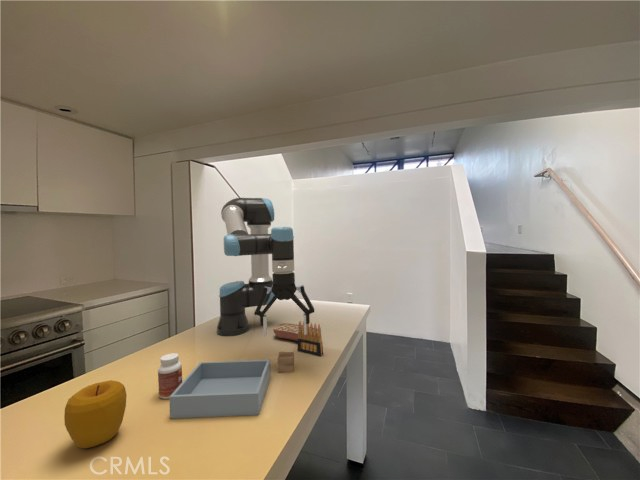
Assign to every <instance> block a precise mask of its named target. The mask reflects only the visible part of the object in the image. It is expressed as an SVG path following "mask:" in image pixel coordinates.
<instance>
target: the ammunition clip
mask: <svg viewBox="0 0 640 480" xmlns="http://www.w3.org/2000/svg"><path fill="white" fill-rule="evenodd" d="M298 325H299V330H298V341H297V352H299V353H303V354H304V353H305V354H308V355H312V356H316V357H322V356H323V355H324V347H323V341H322V339H323V337H322V329H321V325H320V323H319V324H318V325H317V324H316V323H314V325H313V323H312V322H310V323H309V324H306V326H307V334H306V335H304V320H303V321H301V320H299V321H298ZM309 327H310V331H309ZM313 328H314V333H313ZM317 329H318V334H317Z"/></svg>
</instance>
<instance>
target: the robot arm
mask: <svg viewBox="0 0 640 480" xmlns="http://www.w3.org/2000/svg"><path fill="white" fill-rule="evenodd" d="M220 214H221V215H220V216H221V219H222V221H223V222H224V223H225V229H226V235H224V237H223V251H224V252H223V253H224V255H225V256H227V257H230V256H231V257H239V256H241V257H242V256H250V261H251V262H250V264H251V276H250V277H249V279H248V283H245V281H243V280H236V281H232V282H228V283H225V284H224V283H223V285H221V286H220V287H219V295H218V297H219V313H220V314H219V315H220V316H219V320H218V323H217V326H216V334H217V335H219V336H224V337H228V336H229V337H230V336H238V335H242V334H244V333H246V332H248V331H249V330H250V322H249V320H248V316H247V314H246V308H254V307H256V308H255V311H254V313H253V315H255V316H258V317H259V321H260V327H262V328H263V337H267V335H268V315H267V314H266V313H268V311H269V309H270V308H271V307H272V306H273V304H274V303H275V302H276V300H279V301H283V300H285V301H289V300H292V301H293V302H294V303H295V304H296V305H297V306H298V307H299V309H300V310H301V311H302V312H303V321H304V335H306V334H307V326H306V324H309V325H310V324H311V318H310V315H311V314H314V313H315V308H314V306H313V304H312V302H311V300H310V298H309V296H308V295H307V293H306V291H305V286H304V284H301V285H297V286H296V275H295V272H294V271H295V251H294V249H295V248H294V244H295V243H294V240H295V239H294V238H295V236H294V231H293V230H294V229H293V227H291V226H276V227H272V228H271V230H270V233H269V228H270V227H271V226H272V223H273V222H274V221H275V209H274V205H273V202H272V201H271V199H269V198H263V197H236V198H233V199H231V200H229V201H227V202H226V203H225V204H224V205H223V207H222V209H221V213H220ZM246 225H247V227H248V228H249V229H250V233H249V232H248V230H247V227H246ZM269 255H271V270H272V272H273V273H272V277H271V276H270V272H269V271H270V269H269V268H270V266H269V265H270V263H269V262H270V261H269V260H270V259H269V258H270V257H269ZM296 291H297V292H298V293H301V296H302V298H303V300H304V302H305V304H306V305H307V307H306V306H305V304H304V303H303V302H302V301H301V300H300V299H299V298H298V296H297V295H296V294H295V293H296ZM262 307H264V309H263V310H261V309H262Z"/></svg>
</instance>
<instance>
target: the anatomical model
mask: <svg viewBox="0 0 640 480" xmlns="http://www.w3.org/2000/svg"><path fill="white" fill-rule="evenodd" d="M272 330H273V334H274V335H275V336H276V338H279V339H286V340H290V341H296V342H298V330H299V324H297V323H296V324H295V323H286V322H285V323H277V324H275V325H274V326H273V327H272ZM309 331H310V326H309ZM313 333H314V327H313ZM317 334H318V328H317Z"/></svg>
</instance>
